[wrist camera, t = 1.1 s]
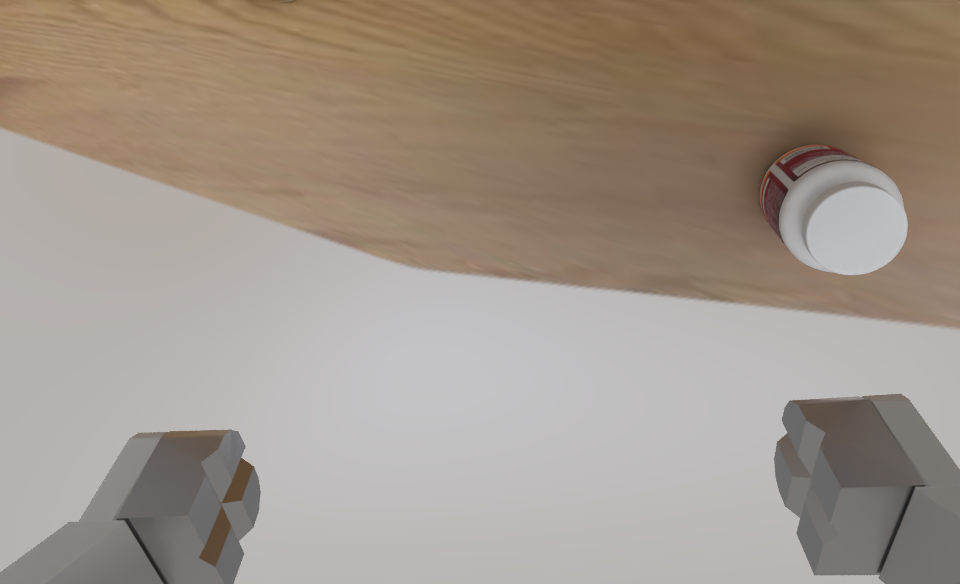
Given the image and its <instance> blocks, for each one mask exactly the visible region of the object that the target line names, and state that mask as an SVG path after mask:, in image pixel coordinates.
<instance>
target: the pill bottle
mask: <svg viewBox="0 0 960 584" xmlns="http://www.w3.org/2000/svg"><path fill="white" fill-rule="evenodd" d="M760 205H761V209H762V212H763V214H764V216H765V218H766V220H767V221H768V223H769V224H770V225H771V227H772V228H773V229H774V231H775V232H776V233H777V235H778V236H779V237H780V239H781V240H782V242H783V243H784V244H785V246H786V247H787V248H788V250H789V251H790V252H791V253H792V254H793V255H794V256H795V257H796V258H797V259H798V260H799V261H801V262H802V263H804V264H806V265H807V266H809V267H812V268H814V269H817V270H821V271H825V272H834V273H838V274H843V275H861V274H866V273H870V272H872V271H875V270H877V269H879V268H881V267H883V266H884V265H886V264H887V263H888V262H890V261H891V260H892V259H893V258H894V257H895V256H896V255H897V254H898V252H899V251H900V249H901V248H902V246H903V244H904V242H905V239H906V236H907V230H908V222H907V216H906V213H905V211H904V204H903V199H902V196H901V194H900V191H899V189H898V188H897V186H896V185H895V183H894V182H893V181H892V180H891V179H890V178H889V177H888V176H887V175H886V174H885V173H883V172H882V171H880V170H879V169H877V168H875V167H874V166H872V165H870V164H867V163H866V162H864V161H862V160H860V159H858V158H856V157H854V156H852V155H850V154H848V153H846V152H844V151H842V150H840V149H837V148H835V147H831V146H827V145H806V146H802V147H798V148H796V149H793V150H791V151H789V152H787V153H785V154H784V155H782V156H781V157H780V158H778V159H777V160H776V161H775V162H774V163H773V164H772V166H771V167H770V168H769V169H768V171H767V173H766V174H765V176H764V179H763V181H762V184H761V189H760Z"/></svg>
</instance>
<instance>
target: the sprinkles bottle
mask: <svg viewBox="0 0 960 584" xmlns="http://www.w3.org/2000/svg"><path fill="white" fill-rule="evenodd" d="M274 1H279V2H291V1H294V0H274Z"/></svg>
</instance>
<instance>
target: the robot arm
mask: <svg viewBox="0 0 960 584" xmlns="http://www.w3.org/2000/svg"><path fill="white" fill-rule="evenodd" d="M782 421H783V424H784V426H785V428H786V430H787V434H786V435H785V436H784V437H782V438H781V439H780V440H779V441H778V442H777V446H776V452H775V458H774V461H775V474H776V475H775V476H776V480H777V484H778V488H779V492H780V494H781V497H782V499H783V502H784V504H785V507H787V508H788V509H789V510H791V511H792V512H793V513H795V514H796V515H797V516H798V517H800V521H799V526H798V530H797V535H798V538H799V540H800V542H801V545H802V547H803V550H804V552H805V554H806V557H807V559H808V561H809V564H810V566H811V568H812V571H813V573H814V575H880V576H879V579H880V580H881V581H883V582H884V583H885V584H960V469H959V468H958V467H957V465H956V464H955V462H954V461H953V460H952V458H951V457H950V455H949V454H948V453H947V451H946V450H945V449H944V447H943V446H942V445H941V443H940V442H939V440H938V439H937V437H936V436H935V435H934V433H933V432H932V431H931V429H930V428H929V426H928V425H927V424H926V422H925V421H924V420H923V418H922V417H921V416H920V414H919V413H918V411H917V410H916V408H915V407H914V406H913V404H912V403H911V402H910V400H909V399H908V398H906V397H905V396H903V395H902V394H891V395H875V396H863V397H843V398H827V399H810V400H793V401H789V402H788V404H787V405H786V407H785V409H784V413H783V417H782ZM244 449H245V445H244V442H243V440H242V438H241V436H240V434H239V432H238V431H233V430H207V431H171V432H157V433H155V432H154V433H138V434H136V435H135V436H133V437H132V438H130V439H129V440H128V442H127V443H126V445H125V447H124V448H123V450H122V452H121V453H120V455H119V456H118V458H117V460H116V461H115V463H114V465H113V466H112V468H111V469H110V471H109V473H108V474H107V476H106V478H105V479H104V481H103V483H102V484H101V486H100V487H99V489H98V491H97V492H96V494H95V496H94V498H93V499H92V501H91V502H90V504H89V506H88V507H87V509H86V511H85V512H84V514H83V515H82V517H81V519H80V520H79V522H69V523H67V524H66V525H64V526H63V527H62V528H60V529H59V530H58V531H56V532H55V533H54V534H52V535H51V536H49V537H48V538H47V539H45V540H44V541H43V542H41V543H40V544H38V545H37V546H36V547H34V548H33V549H32V550H30V551H29V552H27V553H26V554H25V555H23V556H22V557H21V558H19V559H18V560H17V561H15V562H14V563H12V564H11V565H10V566H8V567H7V568H6V569H4V570H3V571H2V572H0V584H233V583H234V580H235V578H236V575H237V572H238V569H239V567H240V564H241V561H242V558H243V555H244V552H243V550H242V548H241V545H240V543H239V540H240V539H242V538H243V537H244V536H245V535H246V534H247V533H248V532H249V531H250V530H251V529H252V528H253V527H254V524H255V521H256V518H257V515H258V511H259V503H260V502H259V501H260V485H259V479H258V476H257V473H256V471H255V468H254V466H252V465H251V464H249V463H248V462H246V461H245V460H244V459H242V458H241V457H242V454H243V452H244Z"/></svg>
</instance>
